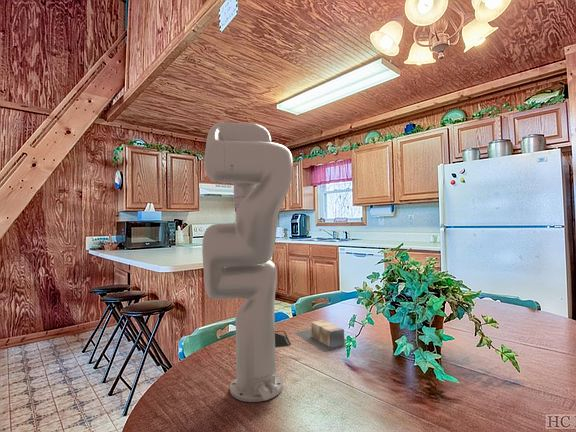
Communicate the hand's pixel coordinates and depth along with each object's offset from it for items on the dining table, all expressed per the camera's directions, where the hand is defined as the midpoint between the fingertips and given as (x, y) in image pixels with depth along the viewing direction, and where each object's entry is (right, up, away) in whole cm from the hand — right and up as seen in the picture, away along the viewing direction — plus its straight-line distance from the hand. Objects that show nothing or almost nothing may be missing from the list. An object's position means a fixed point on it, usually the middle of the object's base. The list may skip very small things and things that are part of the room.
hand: (246, 257), depth 106 cm
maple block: (+25, -26, +5) cm, 36 cm away
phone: (+10, -30, +3) cm, 31 cm away
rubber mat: (+26, -29, +2) cm, 39 cm away
